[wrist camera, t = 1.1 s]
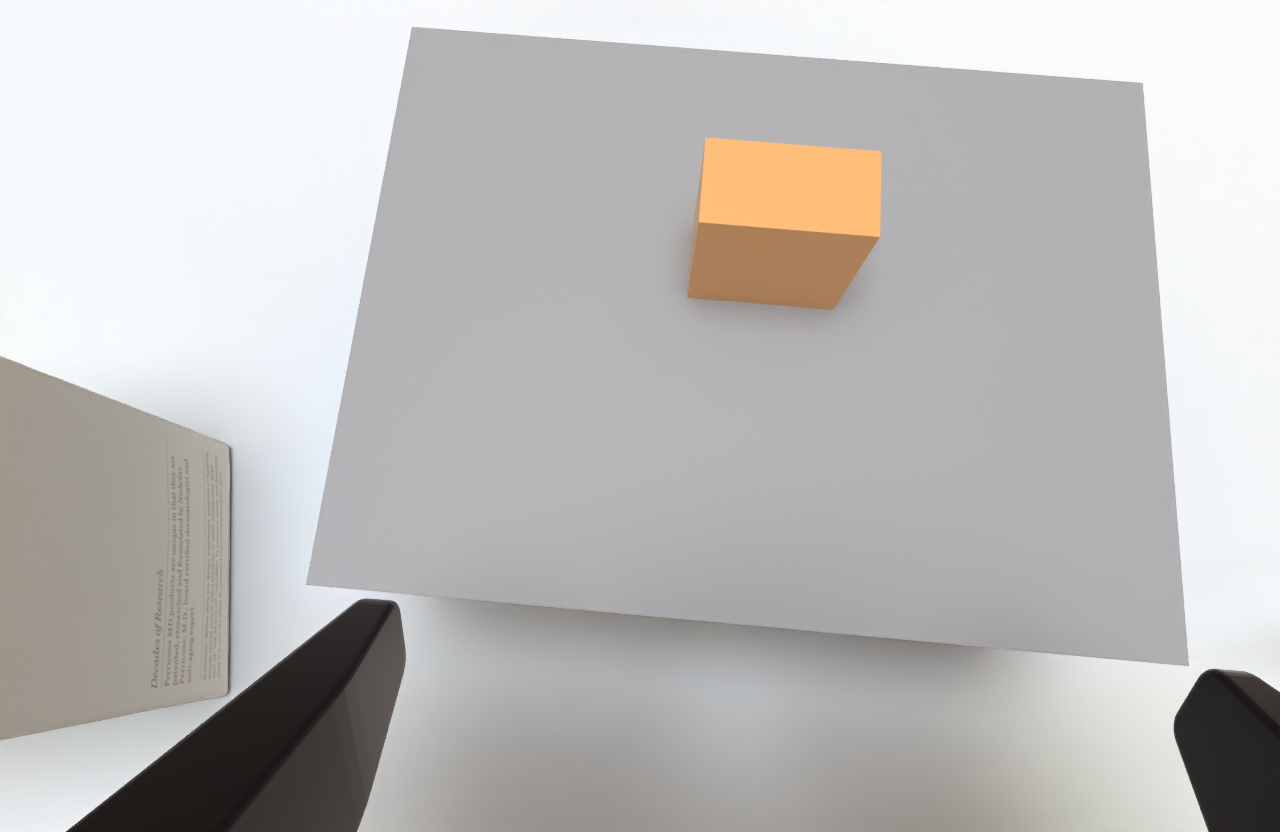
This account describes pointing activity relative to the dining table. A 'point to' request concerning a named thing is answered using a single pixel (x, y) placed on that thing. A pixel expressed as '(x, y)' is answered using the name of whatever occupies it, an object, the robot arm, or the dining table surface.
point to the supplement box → (106, 558)
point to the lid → (763, 349)
